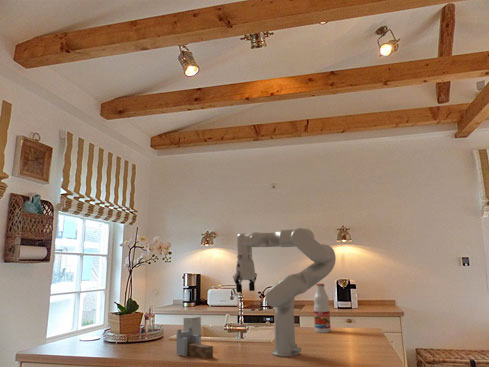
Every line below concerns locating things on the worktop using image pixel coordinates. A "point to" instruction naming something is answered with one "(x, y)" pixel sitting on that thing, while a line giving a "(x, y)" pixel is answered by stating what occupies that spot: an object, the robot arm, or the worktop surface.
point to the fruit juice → (321, 310)
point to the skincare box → (193, 325)
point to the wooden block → (199, 350)
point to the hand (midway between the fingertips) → (245, 291)
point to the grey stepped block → (185, 340)
